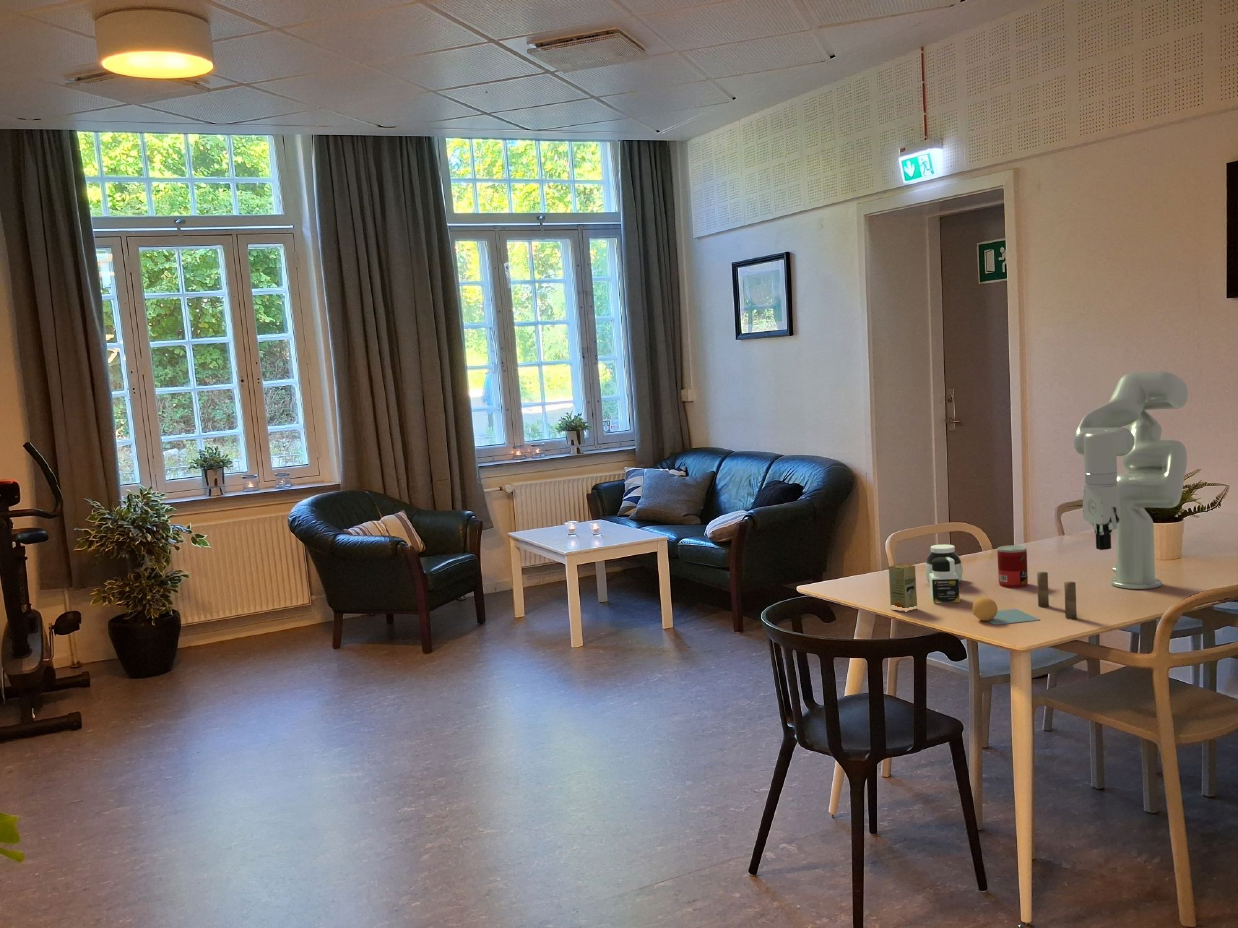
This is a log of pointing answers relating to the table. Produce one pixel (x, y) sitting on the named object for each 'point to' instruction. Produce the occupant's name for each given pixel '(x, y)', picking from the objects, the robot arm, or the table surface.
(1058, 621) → the table surface
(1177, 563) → the table surface
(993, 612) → the ball
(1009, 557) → the canned food
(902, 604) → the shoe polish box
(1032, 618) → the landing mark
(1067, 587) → the post
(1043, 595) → the post
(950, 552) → the spread jar
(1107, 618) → the table surface
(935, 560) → the medicine bottle
